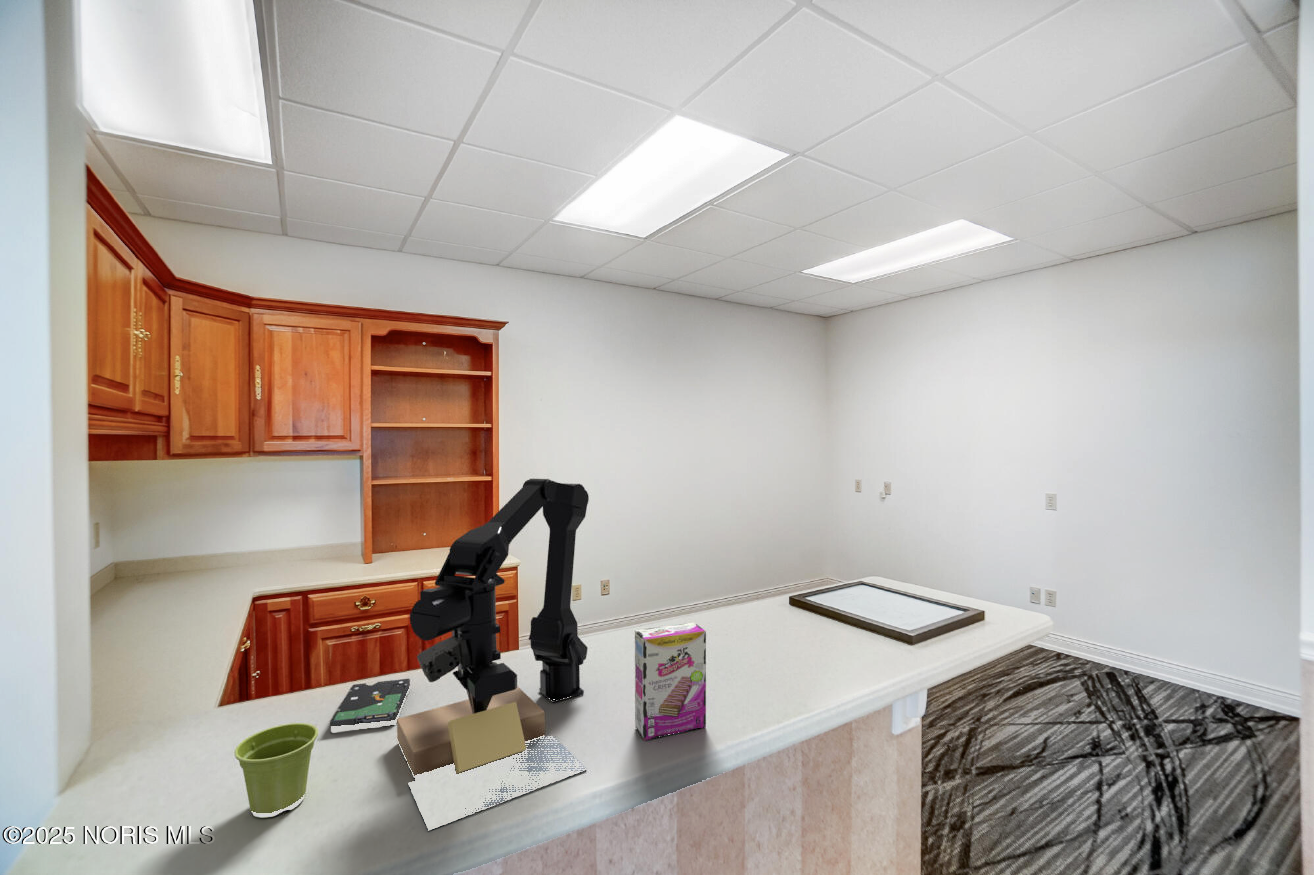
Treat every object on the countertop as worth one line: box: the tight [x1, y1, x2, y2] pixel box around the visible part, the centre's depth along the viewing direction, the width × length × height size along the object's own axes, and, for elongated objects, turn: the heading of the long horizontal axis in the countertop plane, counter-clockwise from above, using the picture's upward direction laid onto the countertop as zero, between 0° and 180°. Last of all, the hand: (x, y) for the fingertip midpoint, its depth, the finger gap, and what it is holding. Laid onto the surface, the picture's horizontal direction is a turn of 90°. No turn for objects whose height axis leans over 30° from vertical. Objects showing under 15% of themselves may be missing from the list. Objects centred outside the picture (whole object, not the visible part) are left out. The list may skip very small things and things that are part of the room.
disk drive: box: [329, 678, 411, 727], centre depth 104 cm, size 10×3×15 cm
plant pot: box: [234, 722, 319, 813], centre depth 78 cm, size 9×9×9 cm
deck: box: [396, 685, 546, 776], centre depth 93 cm, size 20×12×4 cm, turn 125°
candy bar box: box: [634, 622, 707, 741], centre depth 96 cm, size 11×5×16 cm, turn 111°
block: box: [448, 702, 526, 774], centre depth 87 cm, size 10×7×2 cm
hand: (478, 719), depth 90 cm, fingers closed
